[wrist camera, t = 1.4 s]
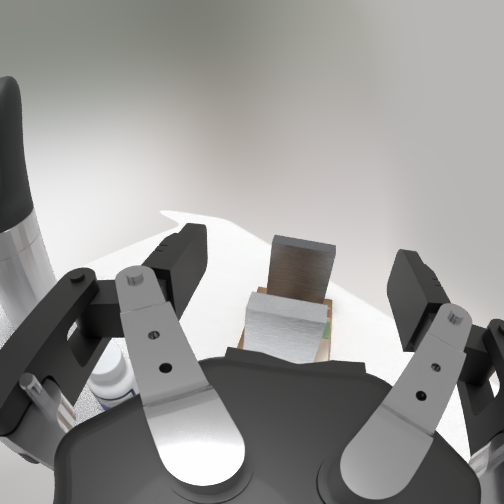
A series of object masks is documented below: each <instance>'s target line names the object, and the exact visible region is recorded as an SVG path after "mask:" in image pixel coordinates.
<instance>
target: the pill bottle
mask: <svg viewBox="0 0 504 504" xmlns="http://www.w3.org/2000/svg"><path fill="white" fill-rule="evenodd" d="M86 383H87V385H88V387H89V389H90V390H91V392H92V393H93V395H94V396H95V398H96V399H97V400H98V402H99V403H100V404H101V406H102V407H103V408H104V410H105V411H106V410H108V409H110V408H112V407H114V406H116V405H118V404H120V403H121V402H123V401H125V400H127V399H129V398H131V397H133V396H135V395H136V394H138V393H139V389H138V386H137V383H136V379H135V376H134V372H133V368H132V364H131V361H130V358H129V357H127V356H126V355H124V354H122V351H121V349H120V347H119V346H118V345H117V344H116V343H115V342H113V341H110V342H109V344H108V345H107V347H106V349H105V350H104V352H103V354H102V356H101V357H100V359H99V361H98V363H97V364H96V366H95V368H94V370H93V371H92V373H91V375H90V377H89V379H88V380H87V382H86Z"/></svg>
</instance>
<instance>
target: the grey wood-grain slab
mask: <svg viewBox="0 0 504 504" xmlns="http://www.w3.org/2000/svg"><path fill="white" fill-rule="evenodd" d="M335 254H336V246H335V245H331V244H325V243H319V242H314V241H307V240H302V239H296V238H290V237H285V236H278V235H275V236H274V239H273V242H272V249H271V258H270V267H269V275H268V284H267V293H266V294H268V295H273V296H278V297H284V298H289V299H295V300H300V301H306V302H312V303H317V304H323V301H324V297H325V293H326V290H327V286H328V282H329V278H330V275H331V271H332V267H333V263H334V258H335Z"/></svg>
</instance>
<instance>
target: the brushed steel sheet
mask: <svg viewBox="0 0 504 504" xmlns="http://www.w3.org/2000/svg"><path fill="white" fill-rule="evenodd" d="M327 306H328V305H323V304H317V303H312V302H306V301H300V300H295V299H289V298H284V297H278V296H273V295H268V294H263V293H257V292H252V293H251V296H250V299H249V301H248V304H247V307H246V315H245V331H244V347H243V349H244V350H250V351H257V352H263V353H266V354H268V355H271V356H274V357H277V358H280V359H283V360H286V361H289V362H292V363H296V364H303V363H313V362H314V359H315V356H316V353H317V350H318V347H319V344H320V341H321V339H322V336H323V333H324V330H325V326H326V323H327Z"/></svg>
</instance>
